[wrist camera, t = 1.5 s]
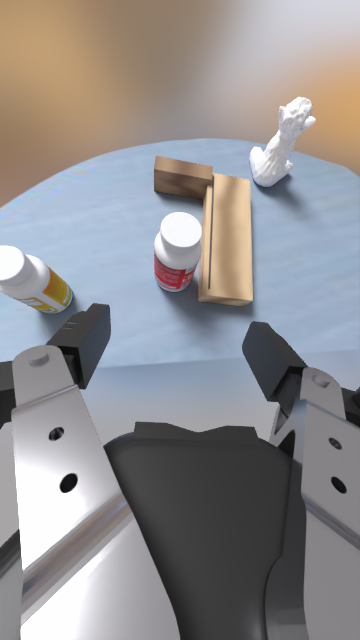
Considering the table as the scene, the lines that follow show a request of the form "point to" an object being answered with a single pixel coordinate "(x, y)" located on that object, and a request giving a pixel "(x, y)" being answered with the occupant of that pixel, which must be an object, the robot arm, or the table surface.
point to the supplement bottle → (32, 281)
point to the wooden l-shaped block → (216, 227)
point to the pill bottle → (177, 251)
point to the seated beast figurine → (281, 143)
